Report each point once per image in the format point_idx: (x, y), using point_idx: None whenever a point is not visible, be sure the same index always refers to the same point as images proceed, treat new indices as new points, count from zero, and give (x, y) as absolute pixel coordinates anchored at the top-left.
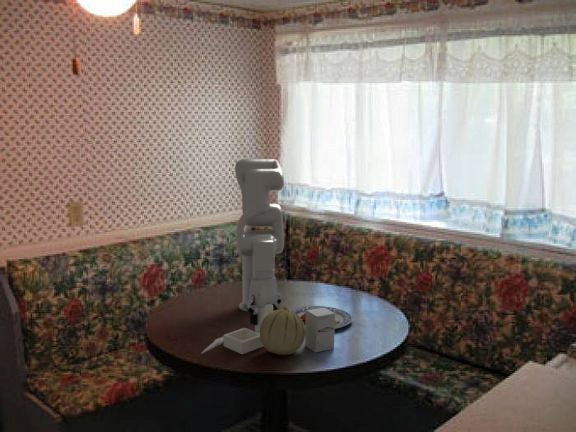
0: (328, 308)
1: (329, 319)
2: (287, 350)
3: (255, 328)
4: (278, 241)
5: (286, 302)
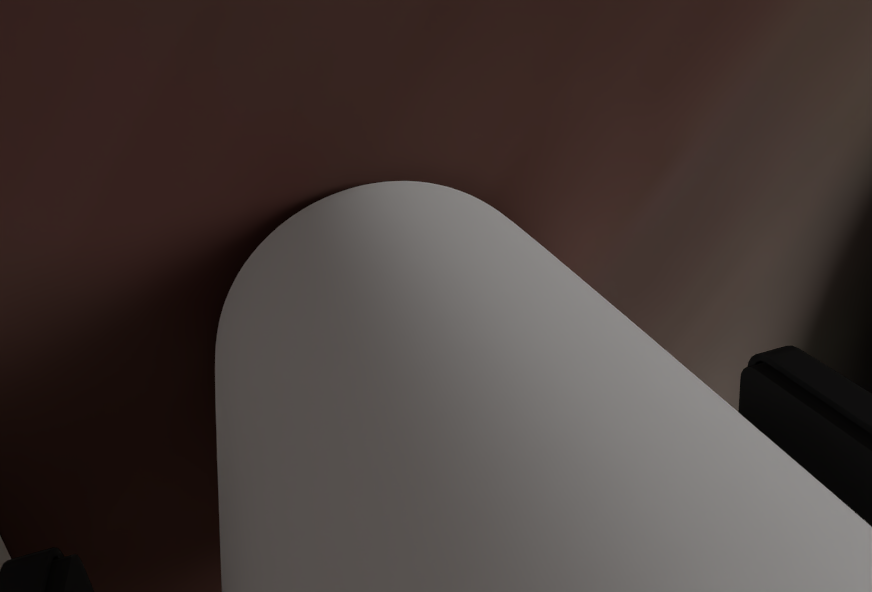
0: None
1: None
2: None
3: (218, 390)
4: None
5: None
